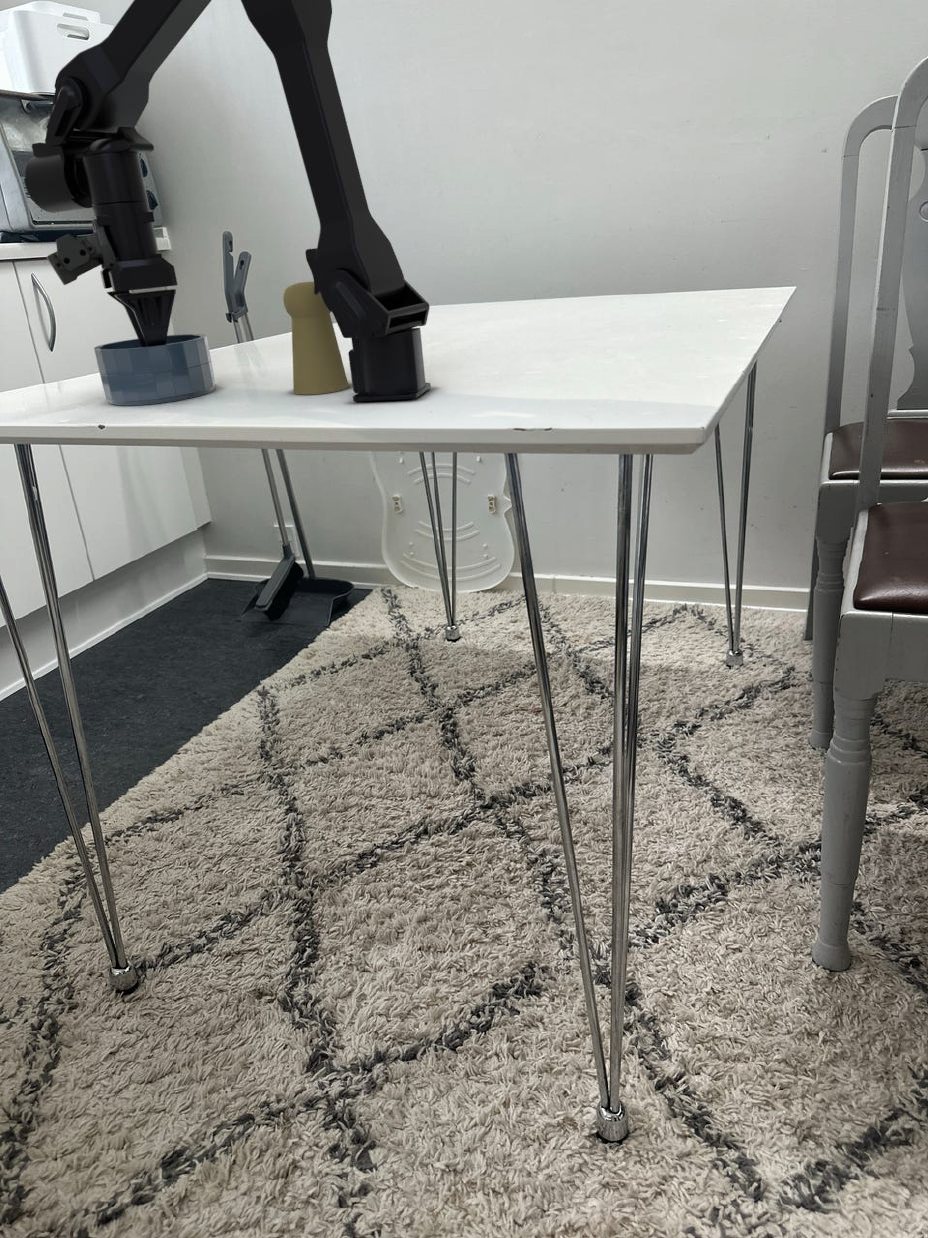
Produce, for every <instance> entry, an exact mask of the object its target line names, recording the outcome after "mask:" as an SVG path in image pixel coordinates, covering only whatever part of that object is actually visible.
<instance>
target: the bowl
mask: <svg viewBox="0 0 928 1238" xmlns="http://www.w3.org/2000/svg"><path fill="white" fill-rule="evenodd" d="M93 351H94V356H95V360H96V365H97V368H98V372H99V377H100V380H101V385H102V389H103V394H104V397H105V400H107V401H108V402H109V404H110V405H114V406H123V407H124V406H126V407H127V406H128V407H130V406H145V405H146V406H147V405H158V404H165V403H172V402H178V401H184V400H188V399H194V398H197V397H200V396H204V395H207V394H209V393H211V392H213V391H214V389H215V388H214V387H215V386H216V385H217V383H216V378H215V371H214V367H213V361H212V355H211V352H210V346H209V340H208V336H207V335H206V334H201V333H185V334H183V333H182V334H169V335H168V334H167V339H166V344H165V345H156V346H148V347H142V346H141V344H140V342H139V339H138V338H133V339H126V340H120V341H114V342H109V343H105V344H100V345H97V346H95V347H93Z"/></svg>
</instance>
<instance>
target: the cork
mask: <svg viewBox="0 0 928 1238" xmlns="http://www.w3.org/2000/svg"><path fill="white" fill-rule="evenodd" d="M282 298H283V306H284V309H285V311H286V313H287V314H288V315H289V316H290V317H291V345H292V349H291V350H292V382H293V394H296V395H306V396H308V395H309V396H311V395H322V394H330V393H336V392H339V391H345V390H346V389H348V388H349V387H350V385H349V381H348V377H347V374H346V373H347V372H346V370H345V366H344V363H343V358H342V354H341V350H340V346H339V344H338V340H337V339H338V338H337V335H336V332H335V328H334V324H333V320H332V316H331V312H330V311H329V310H328V309H327V308H326V306H325V305H324V302H323V300H322V298H321V294H317V295H315V294H314V281H304V282H297V283H294V284H291V285H288V286H287V287H286V288H285V290H284V292H283V297H282Z"/></svg>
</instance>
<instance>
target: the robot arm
mask: <svg viewBox="0 0 928 1238" xmlns="http://www.w3.org/2000/svg"><path fill="white" fill-rule="evenodd" d="M211 2H212V0H133V1H132V2H131V4H129V6H128V8H127V9H126V11H124V13H123V14H122V16H121V17H120V19H119V20H118V22H117V23H116V24H115V26H114V27H113V29H112V30H111V31H110V33H109V34H108V36H107V37H105V38H104V39H103V40H102V41H101V42H99V43H98V44H96V45H93V46H91V47H89V48H87V49H84V50H83V51H80V52H79V53H77V54H76V55H75V56H74V57H72V59H71V60H70V61H68V62H67V63H66V64H65V65H64V66H62V68H61V69H60V70H59V71H58V73H57V76H56V77H55V81H54V89H55V90H54V95H53V100H52V104H51V110H50V114H49V119H48V122H47V125H46V133H45V139H44V142H34V143H31V149H32V154H33V156H32V157H31V158H30V159H29V160H28V161H27V163H26V166H25V171H24V172H25V173H24V178H23V182H24V186H25V189H26V191H27V194H28V195H29V198H30V199H31V200H32V202H34V204H35V205H37V207H39V208H40V209H41V210H43V211H44V212H46V213H47V212H48V213H50V214H51V213H62V212H70V211H79V210H85V209H92V212H93V216H94V217H93V219H92V220H91V225H92V231H93V233H91V234H89V235H87V236H84V237H82V238H80V239H78V238H76V237H75V236H74V235H72V234H70V233H66V234H63V236H61V237H58V238H56V239H55V247H56V251H54V252H53V253H49V254H48V255H46V257H45V258H46V259H47V261H48V263H49V264H50V266H51V267H52V269H53V270H54V273H55V274H56V275H57V277H58V279H59V280H60V281H61V283H62V285H64V286H66V285H69V284H70V283H72V282H75V281H77V280H78V277H79V276H82V275H84V274H85V273H86V274H87V272H89V271H92V270H94V269H95V268H97V267H99V266H101V269H100V271H99V272H100V273H99V274H100V277H101V281H102V285H103V289H105V290H107V289H111V288H112V291H106V294H107V295H108V296H109V297H111V298H112V299H114V300H115V301H117V302H118V303H119V304H121V305H122V306H123V308H124V310H125V312H126V315H127V316H128V319H129V322H130V324H131V326H132V329H133V330H134V333H135V334H136V337H137V339H139V342H140V344H141V346H142V347H148V346H156V345H165V344H166V339H167V335H168V332H169V327H170V322H171V317H172V312H173V307H174V301H175V296H176V294H177V289H176V288H168V287H177V286H178V279H177V276H176V270H175V266H174V265H173V264H172V263H170V262H169V261H168V260H166V259H165V258H164V257H163V255H162V253H159V248H158V242H157V238H156V233H155V229H154V228H155V227H154V223H155V222H156V220H155V215H154V211H151V209H150V204H149V200H148V199H149V198H148V194H147V189H146V185H145V179H144V174H143V169H142V165H141V159H140V154H145V153H151V152H154V150H155V147H154V144H153V143H152V142H150V141H149V140H148V139H147V138H145V137H143V136H142V135H141V134H140V133H139V132H138V130H137V129H136V128H135V127H136V126H137V124H138V122H139V120H140V118H141V117H142V115H143V113H144V111H145V109H146V107H147V105H148V103H149V99H150V84H151V81H152V79H153V78H154V75H155V74H156V72H157V71H158V70H159V68H160V67H161V66H162V64H163V63H164V62H165V61H166V59H167V58H169V56H170V55H171V53H172V52H173V50H174V49H175V48H176V47H177V45H178V44H179V43H180V42H181V40H182V39H183V38H184V37H185V35H186V34H187V33H188V31H189V30H190V29H191V28H192V26H193V25H194V24H195V23H196V21H197V20H198V19H199V17H200V16H201V15H202V13H203V12H204V11H205V10H206V8H207V7H208V5H209V4H210V3H211ZM240 2H241V5H242V7H243V9H244V12H245V14H246V16H247V19H248V21H249V23H250V24H251V25H252V26H253V28H254V30H255V31H256V32H257V34H258V35H259V36H260V38H261V39H262V41H263V42H264V43H265V45H266V47H267V48H268V50H269V51H270V53H271V54H272V56H273V58H274V60H275V63H276V68H277V72H278V75H279V78H280V82H281V85H282V89H283V93H284V97H285V101H286V104H287V107H288V111H289V116H290V119H291V123H292V126H293V129H294V133H295V137H296V140H297V144H298V148H299V152H300V155H301V159H302V163H303V167H304V171H305V173H306V177H307V181H308V185H309V188H310V193H311V196H312V199H313V204H314V206H315V210H316V213H317V214H316V215H317V217H318V221H319V222H318V223H319V231H318V232H319V233H318V240H317V245H316V248H315V247H314V248H307V249H306V250H305V260H306V262H307V264H308V267H309V270H310V272H311V274H312V279H313V282H314V294H315V295H317V294H321V298H322V300H323V302H324V305H325V306H326V308H327V309H328V310H329V311H330V313H332V315H333V317H334V319H335V322H336V324H337V327H338V329H339V331H340V334H341V336H342V337H343V339H351V347H352V348H351V349H350V350H349V351H348V352H347V353H348V354H347V355H348V361H349V369H350V377H351V385H352V392H353V393H354V394H355V395H353V396H352V401H353V402H372V401H373V402H374V401H394V400H395V401H396V400H414V399H417V398H418V397H420V396H421V395H422V394H424V393H425V392H427V391H428V390H430V388H432V387H431V386H432V384H431V382H426V375H425V373H426V371H425V364H424V363H425V361H424V353H423V343H422V342H423V341H422V332H421V327H425V326H426V325H427V323H428V322H427V321H428V316H429V314H430V313H429V312H430V308H431V307H430V303H429V302H428V301H427V300H426V299H425V298H424V297H423V296H422V295H421V294H420V293H419V292H418V291H417V290H416V289H415V288H414V287H413V286H412V285H411V284H410V283H409V282H408V281H407V280H406V279H405V275H404V273H403V270H402V267H401V265H400V262H399V260H398V257H397V255H396V253H395V250H394V248H393V245H392V242H391V241H390V240H389V238H388V237H387V235H386V234H385V233H384V231H383V230H382V228H381V227H380V225H379V224H378V223H377V222H376V220H375V218H374V217H373V216H372V214H371V211H370V209H369V205H368V201H367V197H366V193H365V189H364V186H363V181H362V177H361V174H360V170H359V165H358V162H357V157H356V154H355V150H354V146H353V141H352V138H351V134H350V130H349V127H348V122H347V119H346V114H345V111H344V107H343V103H342V100H341V95H340V92H339V91H340V90H339V87H338V84H337V79H336V76H335V72H334V67H333V63H332V60H331V56H330V53H329V45H328V44H329V36H330V30H331V29H330V28H331V22H332V17H333V5H332V0H240Z"/></svg>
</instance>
